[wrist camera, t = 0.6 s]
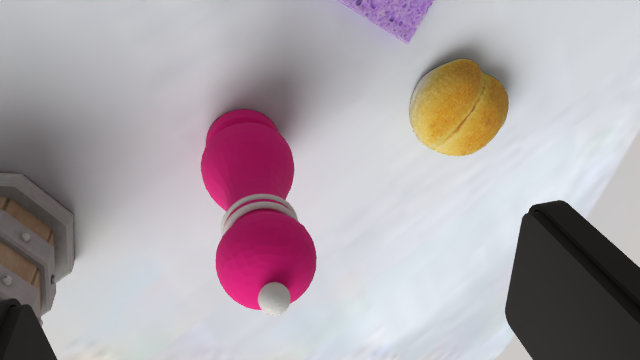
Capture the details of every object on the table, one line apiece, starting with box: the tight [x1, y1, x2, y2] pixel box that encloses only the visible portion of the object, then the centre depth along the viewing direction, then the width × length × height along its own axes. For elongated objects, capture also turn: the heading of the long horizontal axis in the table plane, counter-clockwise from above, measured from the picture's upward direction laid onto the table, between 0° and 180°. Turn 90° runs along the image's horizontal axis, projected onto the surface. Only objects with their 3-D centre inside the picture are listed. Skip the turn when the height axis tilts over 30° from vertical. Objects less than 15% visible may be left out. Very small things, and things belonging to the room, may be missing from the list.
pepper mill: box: [201, 109, 316, 315], centre depth 36 cm, size 7×7×20 cm
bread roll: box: [409, 59, 508, 156], centre depth 45 cm, size 8×9×4 cm
